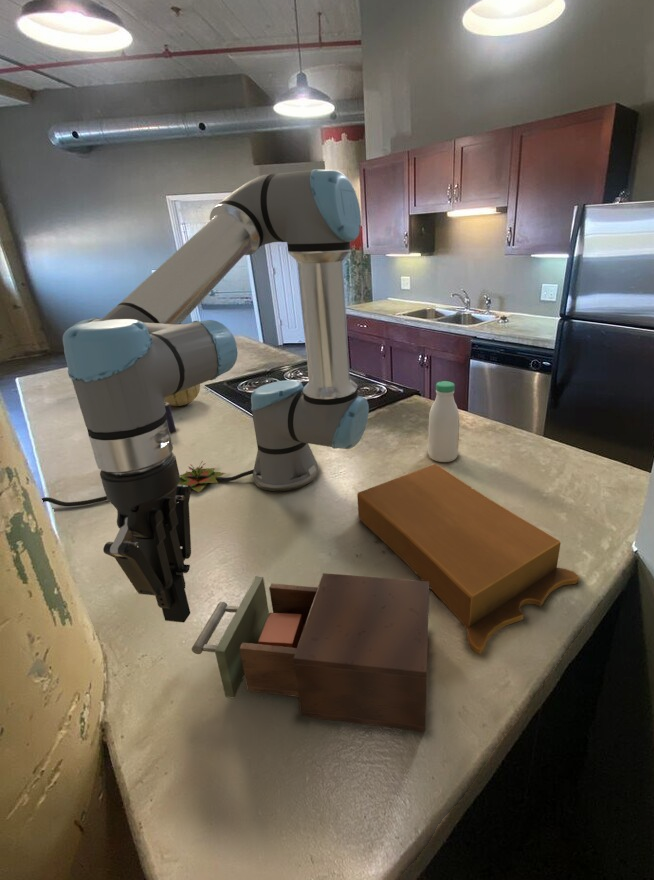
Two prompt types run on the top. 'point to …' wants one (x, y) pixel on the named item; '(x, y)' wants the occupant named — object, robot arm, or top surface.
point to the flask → (169, 418)
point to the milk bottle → (443, 424)
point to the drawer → (256, 640)
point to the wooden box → (465, 548)
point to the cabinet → (365, 652)
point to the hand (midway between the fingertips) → (177, 616)
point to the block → (282, 630)
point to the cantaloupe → (183, 396)
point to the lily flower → (199, 483)
